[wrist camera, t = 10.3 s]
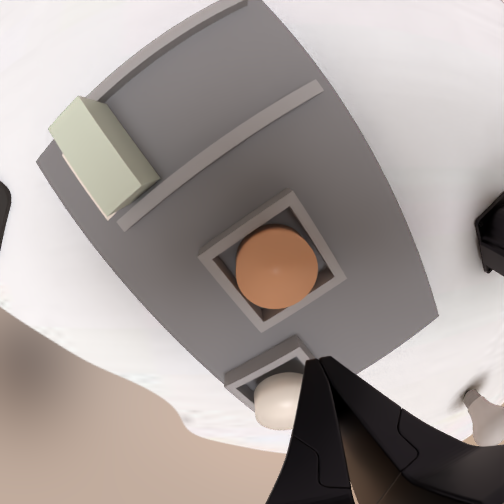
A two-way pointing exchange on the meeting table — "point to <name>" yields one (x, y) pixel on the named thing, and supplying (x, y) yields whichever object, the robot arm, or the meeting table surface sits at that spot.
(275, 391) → the offwhite button
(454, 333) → the meeting table surface
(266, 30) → the control board
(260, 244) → the terracotta button
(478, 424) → the lightbulb
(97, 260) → the meeting table surface
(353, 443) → the robot arm
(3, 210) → the phone
